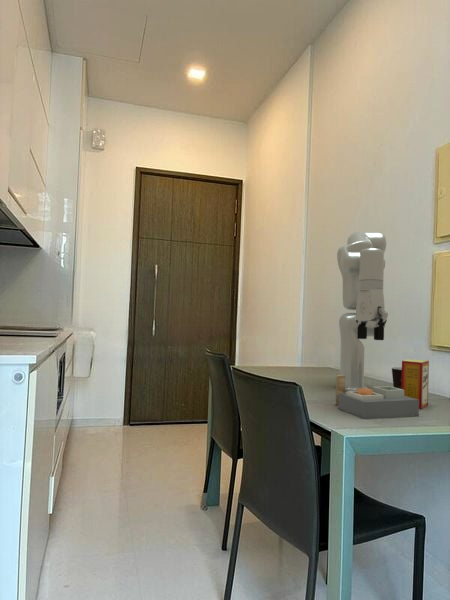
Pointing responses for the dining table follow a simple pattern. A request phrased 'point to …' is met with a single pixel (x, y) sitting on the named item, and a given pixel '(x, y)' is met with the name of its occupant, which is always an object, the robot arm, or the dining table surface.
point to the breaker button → (364, 391)
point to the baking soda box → (416, 380)
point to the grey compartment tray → (379, 403)
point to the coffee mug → (397, 377)
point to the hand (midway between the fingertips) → (370, 339)
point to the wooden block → (339, 386)
